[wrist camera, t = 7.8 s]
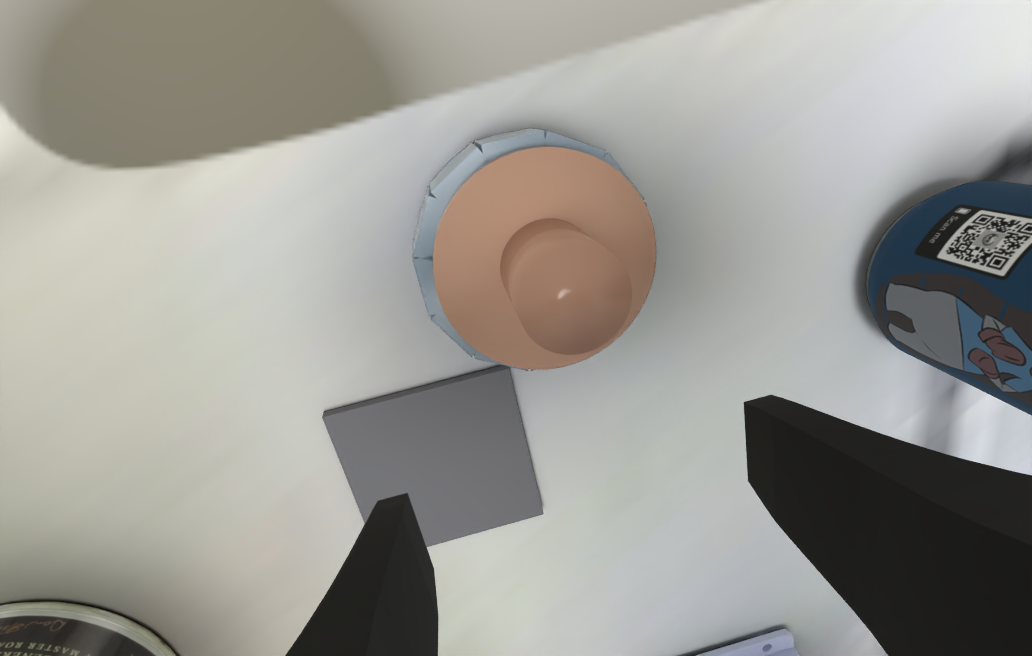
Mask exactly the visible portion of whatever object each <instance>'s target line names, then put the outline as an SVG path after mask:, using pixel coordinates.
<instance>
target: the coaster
mask: <svg viewBox="0 0 1032 656" xmlns="http://www.w3.org/2000/svg"><path fill="white" fill-rule="evenodd" d="M322 418H323V421H324V423H325V426H326V428H327V430H328V433H329V435H330V438H331V440H332V443H333V445H334V448H335V450H336V453H337V455H338V458H339V460H340V463H341V465H342V468H343V470H344V473H345V475H346V478H347V480H348V483H349V485H350V488H351V490H352V493H353V495H354V498H355V500H356V503H357V505H358V508H359V510H360V513H361V515H362V518H363V520H364V523H366V521H367V519H368V517H369V515H370V513H371V511H372V509H373V508H374V506H375V504H376V503H377V501H378V500H382V499H386V498H390V497H393V496H397V495H401V494H404V493H408V495H409V498H410V501H411V504H412V507H413V510H414V513H415V516H416V519H417V521H418V524H419V527H420V530H421V533H422V536H423V539H424V542H425V545H426V547H429V546H432V545H436V544H439V543H443V542H446V541H450V540H454V539H457V538H461V537H464V536H468V535H471V534H475V533H478V532H482V531H486V530H489V529H493V528H496V527H500V526H503V525H507V524H510V523H514V522H518V521H521V520H525V519H528V518H532V517H535V516H539V515H542V514H543V509H542V505H541V501H540V497H539V493H538V488H537V484H536V480H535V476H534V472H533V468H532V463H531V459H530V455H529V451H528V447H527V443H526V438H525V434H524V430H523V426H522V422H521V418H520V413H519V409H518V405H517V401H516V397H515V392H514V388H513V384H512V380H511V376H510V372H509V368H508V366H505V365H502V366H498V367H494V368H490V369H487V370H483V371H479V372H475V373H471V374H467V375H464V376H460V377H456V378H452V379H448V380H444V381H441V382H437V383H433V384H429V385H425V386H421V387H418V388H414V389H410V390H406V391H402V392H399V393H395V394H391V395H387V396H383V397H379V398H376V399H372V400H368V401H364V402H360V403H356V404H353V405H349V406H345V407H341V408H337V409H333V410H330V411H326V412H324V414H323V417H322Z"/></svg>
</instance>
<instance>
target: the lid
mask: <svg viewBox="0 0 1032 656" xmlns="http://www.w3.org/2000/svg"><path fill="white" fill-rule="evenodd" d="M655 264H656V240H655V232H654V228H653V224H652V220H651V217H650V215H649V212H648V210H647V207H646V205H645V203H644V201H643V200H642V198H641V196H640V195H639V193H638V192H637V190H636V189H635V188H634V186H633V185H632V184H631V183H630V181H629V180H627V179H626V178H625V177H624V176H623V175H622V174H621V173H620V172H619V171H618V170H616V169H615V168H614V167H612V166H611V165H609V164H608V163H606V162H604V161H602V160H600V159H598V158H597V157H595V156H592V155H589V154H586V153H583V152H580V151H577V150H573V149H568V148H563V147H556V146H536V147H527V148H523V149H518V150H514V151H511V152H509V153H506V154H503V155H501V156H498V157H497V158H495V159H493V160H491V161H489V162H487V163H486V164H484V165H483V166H482V167H480V168H479V169H477V170H476V171H475V172H473V173H472V174H471V175H470V176H469V177H468V178H467V179H466V180H465V181H464V182H463V183H462V184H461V185H460V187H459V188H458V189H457V190H456V192H455V193H454V194H453V195H452V197H451V199H450V201H449V202H448V204H447V206H446V207H445V209H444V211H443V214H442V216H441V218H440V221H439V224H438V227H437V231H436V234H435V239H434V247H433V274H434V281H435V288H436V291H437V295H438V298H439V302H440V304H441V306H442V309H443V311H444V313H445V315H446V317H447V318H448V320H449V322H450V323H451V325H452V326H453V328H454V329H455V330H456V331H457V333H458V334H459V335H460V336H461V337H462V338H463V339H464V340H465V341H466V342H467V343H468V344H469V345H470V346H471V347H473V348H474V349H476V350H477V351H478V352H480V353H481V354H483V355H485V356H487V357H489V358H491V359H492V360H494V361H497V362H500V363H503V364H505V365H509V366H513V367H517V368H523V369H533V370H535V369H552V368H560V367H564V366H568V365H571V364H575V363H577V362H580V361H582V360H585V359H587V358H589V357H591V356H593V355H595V354H597V353H599V352H600V351H601V350H603V349H604V348H606V347H607V346H609V345H610V344H611V343H612V342H614V341H615V340H616V339H617V338H618V337H619V336H620V335H621V334H622V333H623V332H624V331H625V330H626V329H627V328H628V327H629V326H630V324H631V323H632V322H633V320H634V319H635V317H636V316H637V315H638V313H639V311H640V309H641V308H642V306H643V304H644V302H645V300H646V298H647V295H648V293H649V290H650V288H651V284H652V280H653V277H654V271H655Z"/></svg>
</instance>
